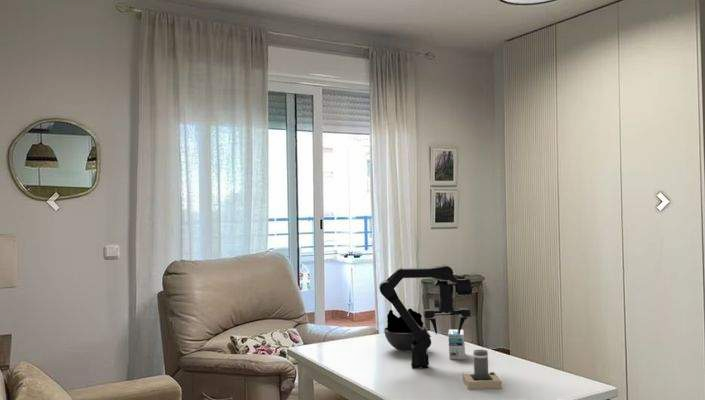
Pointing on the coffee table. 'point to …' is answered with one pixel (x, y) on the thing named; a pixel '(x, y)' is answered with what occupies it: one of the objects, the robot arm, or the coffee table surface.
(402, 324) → the coal bowl
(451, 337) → the light bulb box
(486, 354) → the canister
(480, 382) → the tan square frame
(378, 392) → the coffee table surface
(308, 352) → the coffee table surface
